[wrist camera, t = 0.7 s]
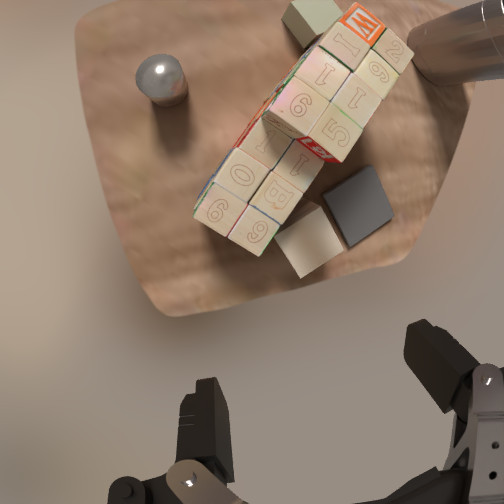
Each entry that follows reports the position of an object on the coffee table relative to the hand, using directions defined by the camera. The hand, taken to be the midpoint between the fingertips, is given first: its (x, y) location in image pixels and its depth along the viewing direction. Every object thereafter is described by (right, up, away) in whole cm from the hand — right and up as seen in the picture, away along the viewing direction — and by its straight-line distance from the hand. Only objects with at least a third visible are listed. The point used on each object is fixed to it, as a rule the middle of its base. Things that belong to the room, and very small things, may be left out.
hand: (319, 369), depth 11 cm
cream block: (+2, +7, +21) cm, 23 cm away
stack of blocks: (0, +17, +18) cm, 25 cm away
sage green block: (+4, +30, +14) cm, 33 cm away
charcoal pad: (+10, +10, +21) cm, 26 cm away
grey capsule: (-11, +21, +15) cm, 28 cm away
